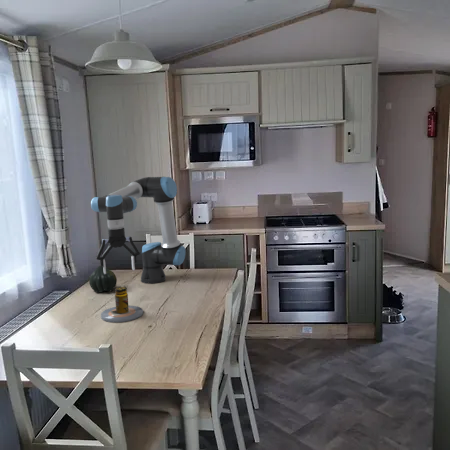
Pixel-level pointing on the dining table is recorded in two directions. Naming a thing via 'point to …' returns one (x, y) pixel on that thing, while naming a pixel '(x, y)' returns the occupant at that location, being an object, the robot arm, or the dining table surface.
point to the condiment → (121, 301)
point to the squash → (102, 280)
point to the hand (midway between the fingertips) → (119, 271)
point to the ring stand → (134, 314)
